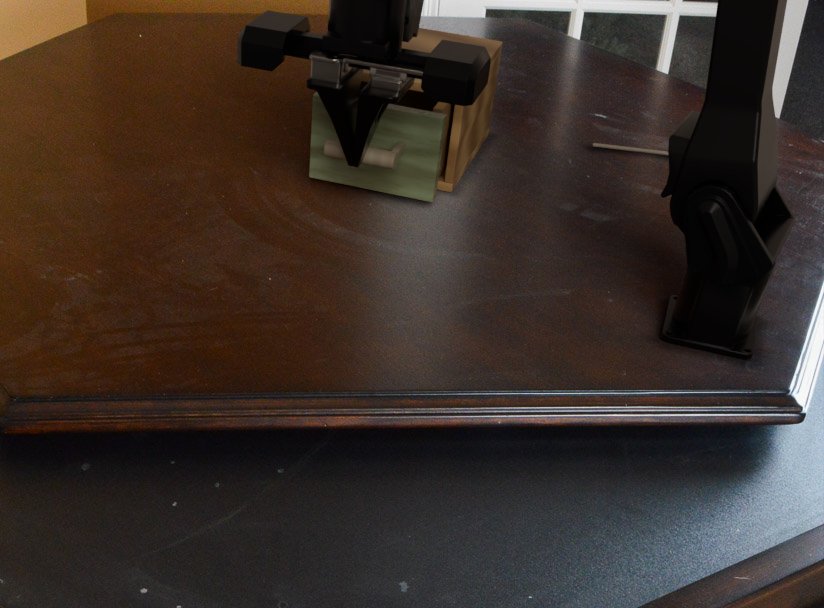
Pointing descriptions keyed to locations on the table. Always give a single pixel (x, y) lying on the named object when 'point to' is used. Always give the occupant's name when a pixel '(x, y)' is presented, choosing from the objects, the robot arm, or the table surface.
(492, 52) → the cabinet
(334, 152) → the drawer
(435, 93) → the robot arm
